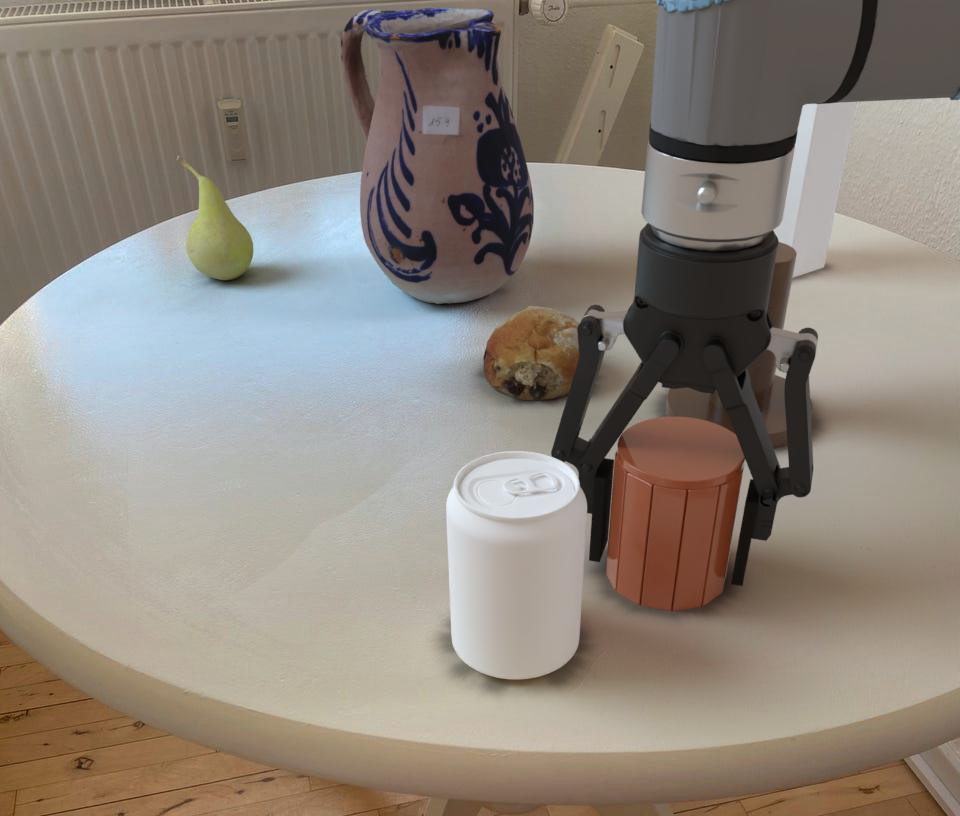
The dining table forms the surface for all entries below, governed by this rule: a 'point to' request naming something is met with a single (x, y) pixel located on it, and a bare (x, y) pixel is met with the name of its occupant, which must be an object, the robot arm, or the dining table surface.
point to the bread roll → (533, 354)
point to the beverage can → (516, 563)
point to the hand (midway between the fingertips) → (667, 561)
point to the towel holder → (751, 369)
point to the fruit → (217, 235)
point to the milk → (815, 182)
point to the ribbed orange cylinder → (673, 511)
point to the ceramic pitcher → (439, 153)
